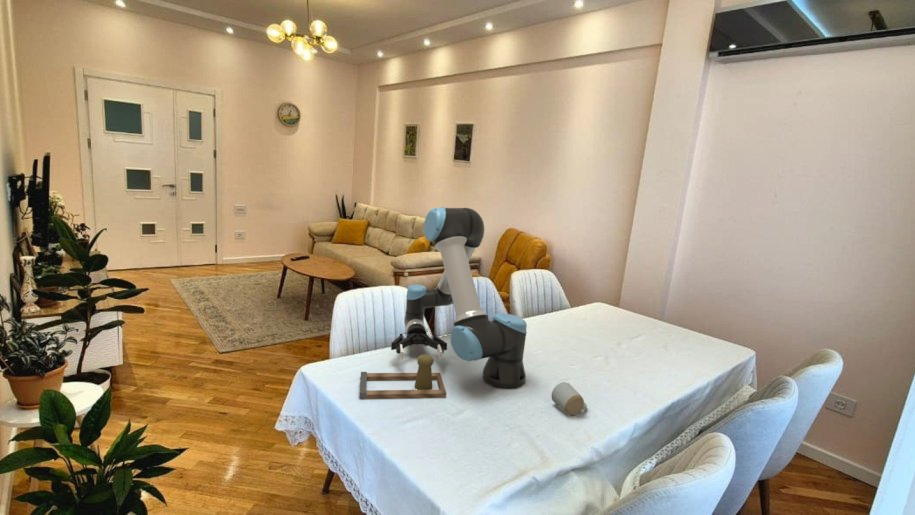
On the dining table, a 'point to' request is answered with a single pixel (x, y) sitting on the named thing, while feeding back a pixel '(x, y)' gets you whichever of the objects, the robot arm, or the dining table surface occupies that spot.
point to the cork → (424, 373)
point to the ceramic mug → (568, 398)
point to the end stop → (363, 385)
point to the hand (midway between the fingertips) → (421, 355)
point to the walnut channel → (404, 393)
